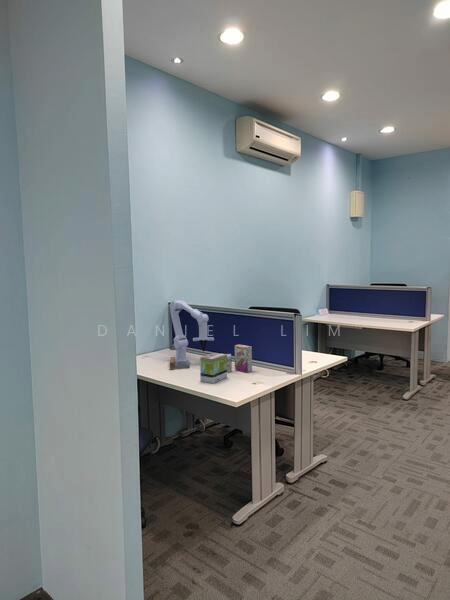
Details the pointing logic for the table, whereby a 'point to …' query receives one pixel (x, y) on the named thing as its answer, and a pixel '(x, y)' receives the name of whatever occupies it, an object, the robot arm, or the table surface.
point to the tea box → (213, 367)
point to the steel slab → (182, 365)
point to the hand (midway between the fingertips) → (203, 351)
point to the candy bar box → (243, 358)
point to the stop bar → (172, 363)
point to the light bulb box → (229, 363)
